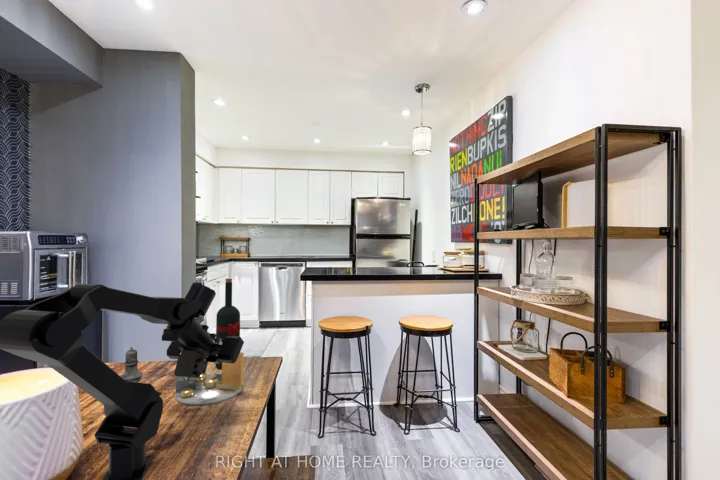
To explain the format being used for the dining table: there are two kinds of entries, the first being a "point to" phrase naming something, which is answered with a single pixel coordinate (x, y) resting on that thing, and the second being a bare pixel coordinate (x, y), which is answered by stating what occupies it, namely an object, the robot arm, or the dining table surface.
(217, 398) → the levelling plate
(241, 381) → the lever
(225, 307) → the wine bottle
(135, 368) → the grey chess bishop
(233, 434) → the dining table surface
